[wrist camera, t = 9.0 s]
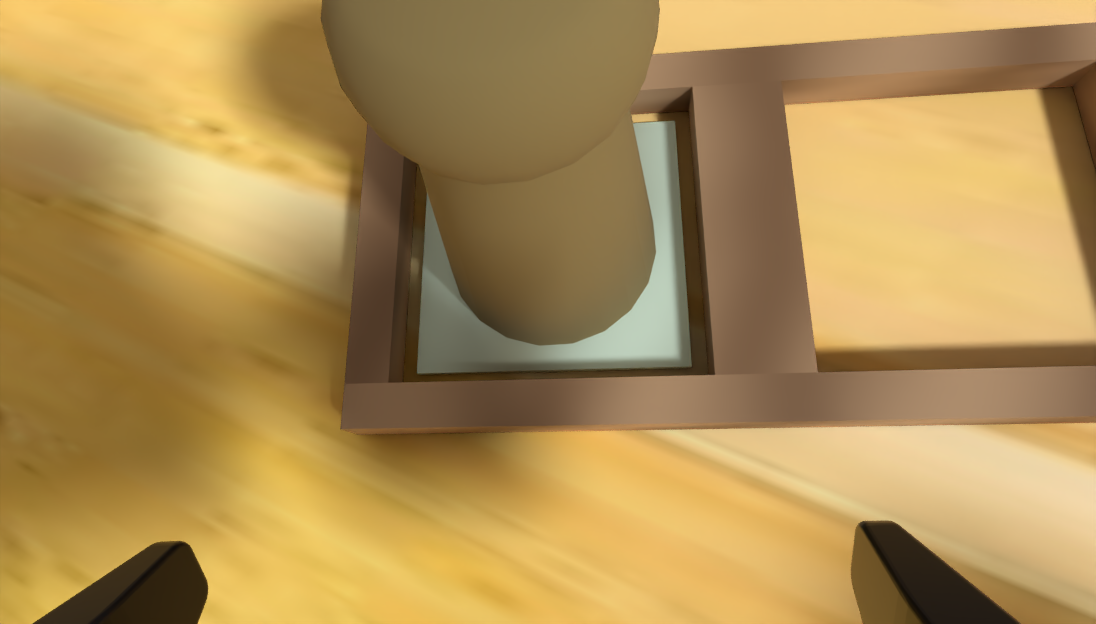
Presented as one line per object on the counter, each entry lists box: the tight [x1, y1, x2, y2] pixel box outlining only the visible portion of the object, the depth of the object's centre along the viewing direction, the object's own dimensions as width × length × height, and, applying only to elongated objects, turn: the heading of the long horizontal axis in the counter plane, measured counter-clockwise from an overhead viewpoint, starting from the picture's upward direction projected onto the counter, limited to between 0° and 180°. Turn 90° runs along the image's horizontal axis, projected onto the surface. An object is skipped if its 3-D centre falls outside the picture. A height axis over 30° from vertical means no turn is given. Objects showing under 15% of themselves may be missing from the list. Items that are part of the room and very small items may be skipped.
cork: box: [321, 0, 660, 346], centre depth 14 cm, size 6×6×11 cm
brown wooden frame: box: [341, 23, 1096, 435], centre depth 18 cm, size 22×11×1 cm, turn 90°
